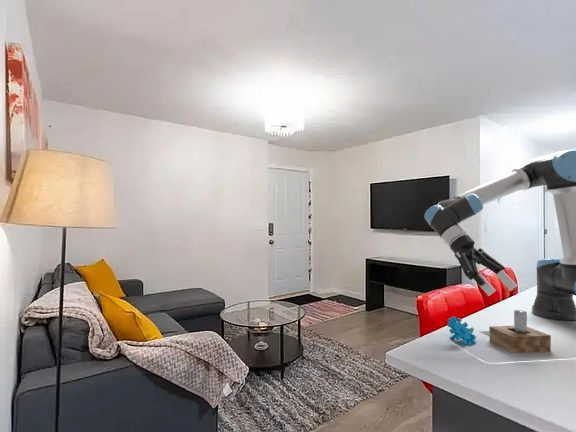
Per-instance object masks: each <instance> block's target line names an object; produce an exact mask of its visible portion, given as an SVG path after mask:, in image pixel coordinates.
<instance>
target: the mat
mask: <svg viewBox="0 0 576 432" xmlns="http://www.w3.org/2000/svg"><path fill="white" fill-rule="evenodd" d="M479 333H481V334H484V335H485V336H488V338H490V330H483V331H482V330H481V331H479Z"/></svg>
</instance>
